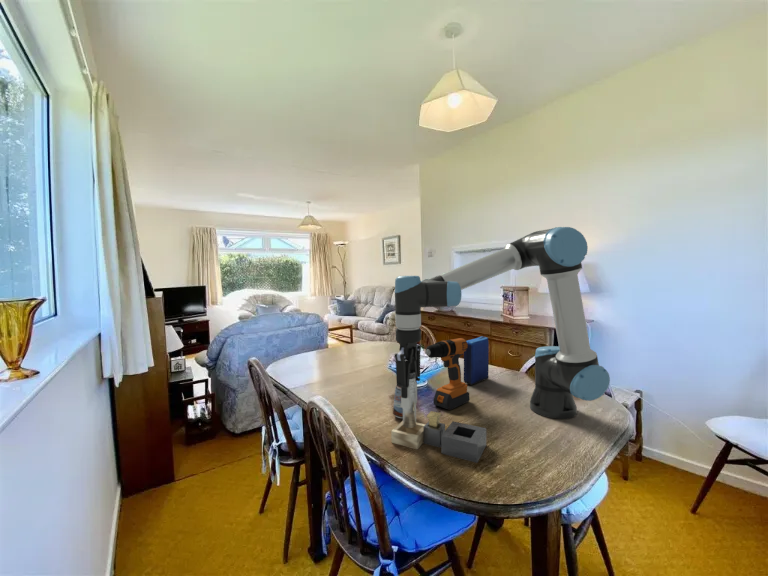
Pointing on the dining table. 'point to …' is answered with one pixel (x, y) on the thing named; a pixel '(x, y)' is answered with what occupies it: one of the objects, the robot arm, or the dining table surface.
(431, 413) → the tan wooden peg
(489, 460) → the dining table surface
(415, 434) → the wooden tray
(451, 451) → the socket block
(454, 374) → the power drill
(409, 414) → the capped tube
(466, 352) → the book
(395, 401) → the beverage can
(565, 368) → the robot arm
